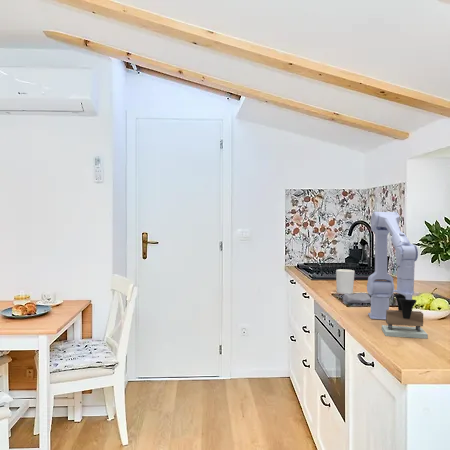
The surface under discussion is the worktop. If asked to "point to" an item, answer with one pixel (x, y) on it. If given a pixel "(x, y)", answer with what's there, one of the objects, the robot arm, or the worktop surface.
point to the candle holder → (345, 281)
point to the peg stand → (404, 331)
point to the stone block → (357, 298)
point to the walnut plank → (397, 318)
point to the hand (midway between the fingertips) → (404, 316)
